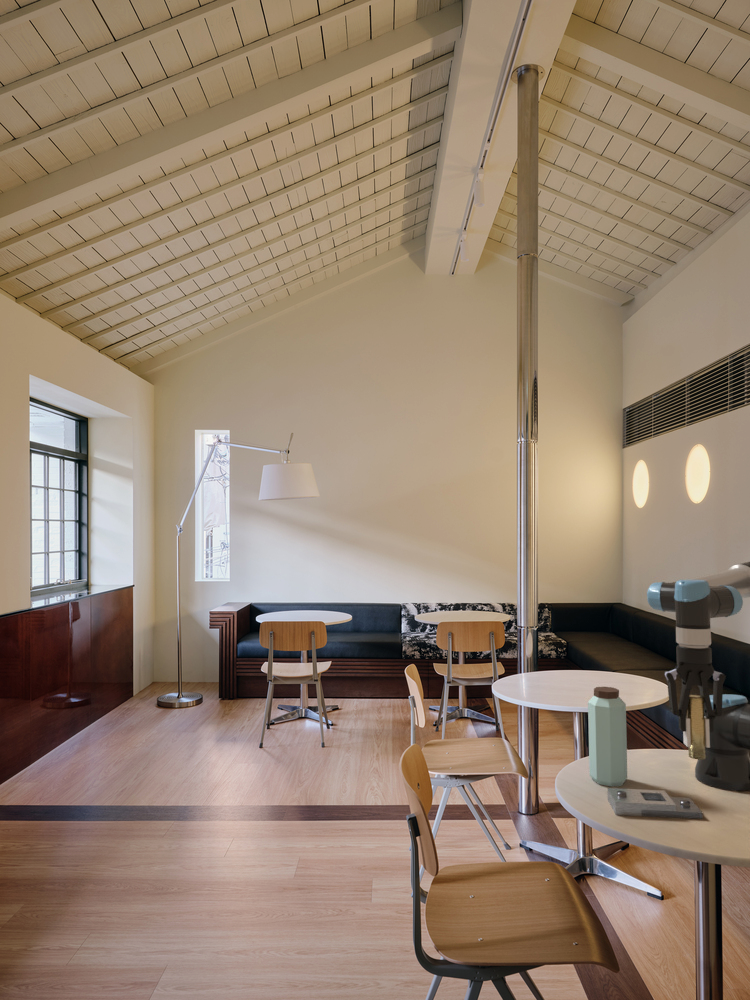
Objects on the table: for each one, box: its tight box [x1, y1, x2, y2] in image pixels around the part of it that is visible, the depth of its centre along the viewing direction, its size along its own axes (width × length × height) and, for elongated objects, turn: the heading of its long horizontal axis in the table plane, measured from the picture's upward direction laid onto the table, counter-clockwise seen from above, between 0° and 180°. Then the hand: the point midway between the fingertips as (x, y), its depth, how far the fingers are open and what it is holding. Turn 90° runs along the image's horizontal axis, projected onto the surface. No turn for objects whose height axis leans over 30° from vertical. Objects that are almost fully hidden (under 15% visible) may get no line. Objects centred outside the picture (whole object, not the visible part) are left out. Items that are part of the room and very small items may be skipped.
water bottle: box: [587, 686, 628, 787], centre depth 182 cm, size 10×10×25 cm
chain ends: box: [607, 787, 703, 820], centre depth 163 cm, size 20×9×4 cm, turn 82°
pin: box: [687, 694, 706, 761], centre depth 155 cm, size 4×4×14 cm
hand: (696, 745), depth 155 cm, fingers closed on pin, 3 cm apart
